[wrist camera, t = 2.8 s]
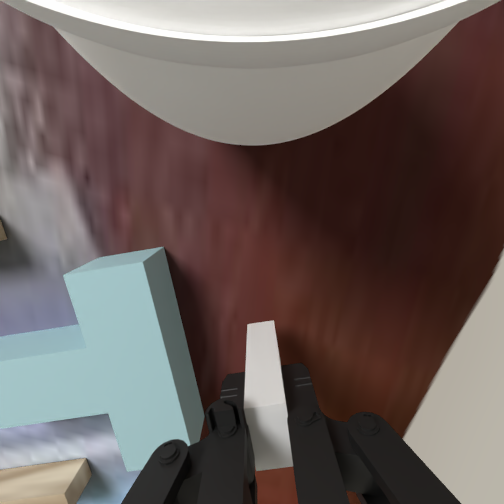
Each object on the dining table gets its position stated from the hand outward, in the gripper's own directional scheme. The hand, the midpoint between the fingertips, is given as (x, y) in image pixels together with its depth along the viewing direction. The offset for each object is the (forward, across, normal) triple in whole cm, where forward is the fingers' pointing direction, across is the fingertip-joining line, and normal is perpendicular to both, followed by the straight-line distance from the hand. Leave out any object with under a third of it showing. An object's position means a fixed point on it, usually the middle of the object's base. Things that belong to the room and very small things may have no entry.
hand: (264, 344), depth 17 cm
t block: (+2, -11, 0) cm, 11 cm away
